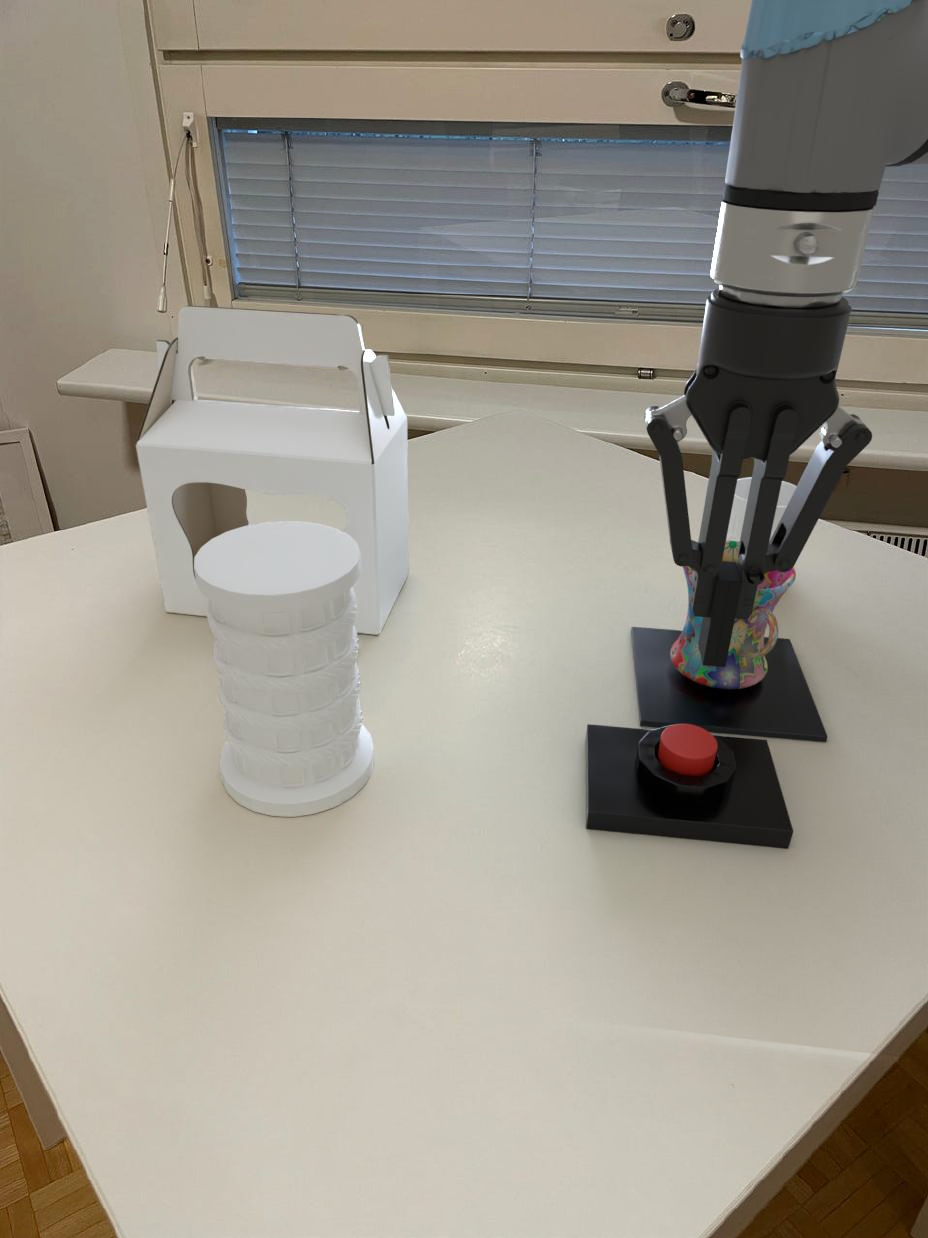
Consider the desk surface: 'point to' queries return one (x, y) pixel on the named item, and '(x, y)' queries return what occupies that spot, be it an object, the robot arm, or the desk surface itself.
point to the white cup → (741, 504)
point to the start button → (687, 750)
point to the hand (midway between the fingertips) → (711, 654)
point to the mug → (734, 634)
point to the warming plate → (724, 694)
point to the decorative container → (287, 665)
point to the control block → (683, 790)
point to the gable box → (273, 449)
